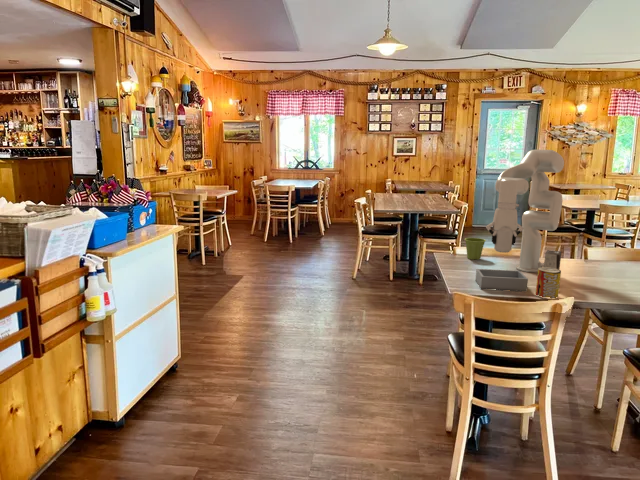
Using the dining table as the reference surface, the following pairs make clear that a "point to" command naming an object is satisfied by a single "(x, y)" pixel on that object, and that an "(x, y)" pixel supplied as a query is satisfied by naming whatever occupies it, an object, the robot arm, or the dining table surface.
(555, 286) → the beverage can
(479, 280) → the bin
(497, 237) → the can
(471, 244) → the plant pot
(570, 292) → the dining table surface
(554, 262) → the coffee box
